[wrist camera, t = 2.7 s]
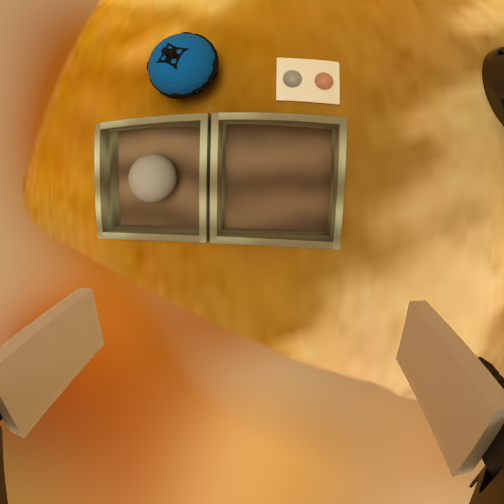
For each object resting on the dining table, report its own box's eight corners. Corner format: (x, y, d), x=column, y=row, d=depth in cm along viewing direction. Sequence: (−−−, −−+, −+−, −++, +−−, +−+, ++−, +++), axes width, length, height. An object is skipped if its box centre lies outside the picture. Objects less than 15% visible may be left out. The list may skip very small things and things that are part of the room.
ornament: (151, 92, 36) (116, 75, 27) (180, 39, 34) (153, 10, 24) (205, 113, 37) (182, 98, 27) (235, 57, 34) (221, 27, 25)
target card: (276, 58, 34) (276, 57, 33) (338, 62, 33) (339, 61, 33) (276, 100, 36) (275, 99, 35) (339, 104, 35) (339, 104, 34)
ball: (140, 155, 38) (119, 154, 32) (183, 153, 37) (166, 151, 32) (141, 199, 40) (120, 205, 34) (182, 199, 39) (166, 205, 33)
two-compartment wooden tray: (116, 126, 38) (94, 122, 32) (338, 123, 36) (348, 116, 30) (118, 229, 42) (96, 239, 36) (332, 238, 40) (341, 251, 34)
